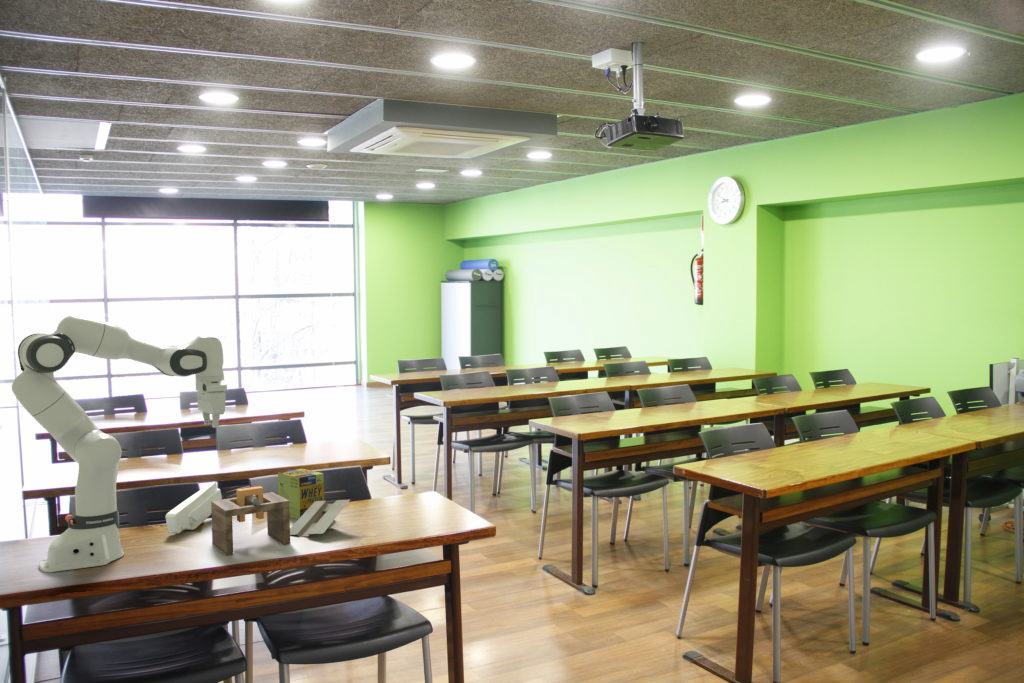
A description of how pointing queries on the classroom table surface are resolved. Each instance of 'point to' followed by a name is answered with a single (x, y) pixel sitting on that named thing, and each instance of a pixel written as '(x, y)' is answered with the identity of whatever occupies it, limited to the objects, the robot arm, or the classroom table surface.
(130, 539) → the classroom table surface
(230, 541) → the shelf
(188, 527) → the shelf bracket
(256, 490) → the orange u-frame
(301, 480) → the protein box
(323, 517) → the slanted grey stand
